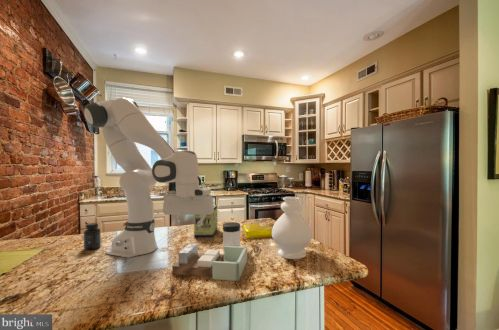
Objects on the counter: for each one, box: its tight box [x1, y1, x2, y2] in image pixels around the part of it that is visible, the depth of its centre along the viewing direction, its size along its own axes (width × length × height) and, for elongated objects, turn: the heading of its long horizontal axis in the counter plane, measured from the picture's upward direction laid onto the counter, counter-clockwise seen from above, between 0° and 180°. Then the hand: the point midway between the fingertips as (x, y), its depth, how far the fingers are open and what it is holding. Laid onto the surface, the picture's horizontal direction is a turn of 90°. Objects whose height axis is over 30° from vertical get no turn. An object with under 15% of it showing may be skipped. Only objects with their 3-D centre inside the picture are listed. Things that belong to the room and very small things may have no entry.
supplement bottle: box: [83, 222, 102, 251], centre depth 112 cm, size 7×7×12 cm
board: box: [171, 252, 224, 278], centre depth 89 cm, size 16×13×3 cm
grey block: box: [178, 243, 199, 265], centre depth 90 cm, size 4×10×4 cm, turn 170°
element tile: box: [242, 222, 273, 239], centre depth 131 cm, size 15×15×5 cm
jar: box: [222, 221, 241, 252], centre depth 107 cm, size 9×8×12 cm
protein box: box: [193, 204, 218, 238], centre depth 133 cm, size 10×16×16 cm
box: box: [212, 246, 248, 282], centre depth 87 cm, size 10×16×6 cm, turn 170°
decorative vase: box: [271, 196, 313, 260], centre depth 102 cm, size 18×18×25 cm
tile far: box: [204, 248, 221, 260], centre depth 91 cm, size 5×5×2 cm
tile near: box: [198, 255, 215, 267], centre depth 85 cm, size 5×5×2 cm
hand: (188, 225), depth 89 cm, fingers open, 8 cm apart
